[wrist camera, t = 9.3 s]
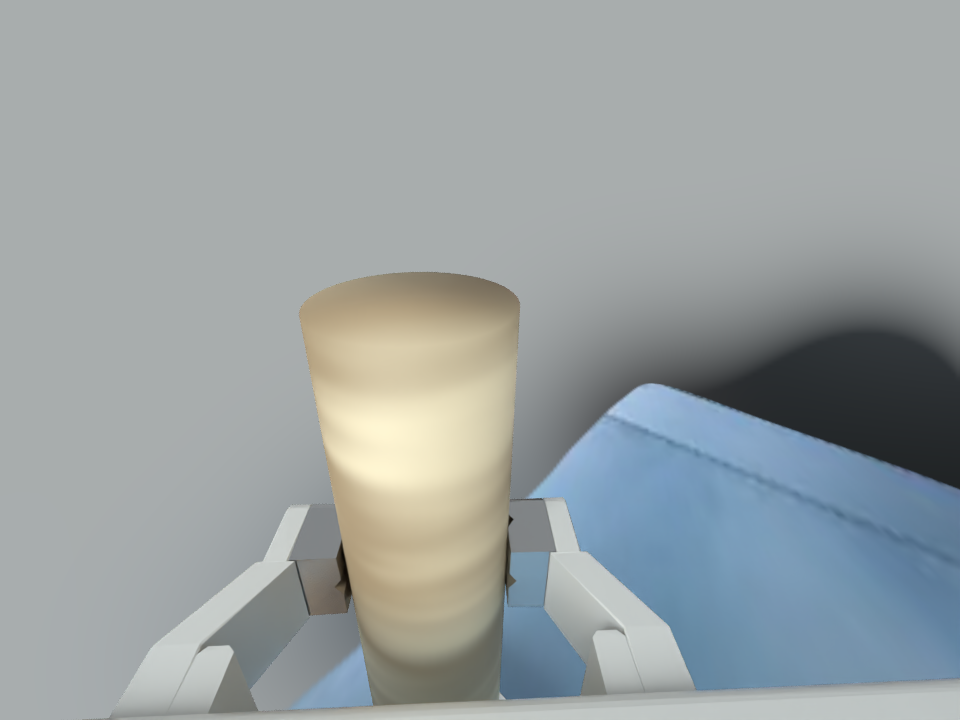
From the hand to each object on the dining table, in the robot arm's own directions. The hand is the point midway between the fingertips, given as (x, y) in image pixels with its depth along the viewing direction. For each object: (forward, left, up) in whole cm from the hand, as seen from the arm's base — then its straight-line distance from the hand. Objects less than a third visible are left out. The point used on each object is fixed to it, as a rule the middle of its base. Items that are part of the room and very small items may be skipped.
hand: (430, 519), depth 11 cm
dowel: (-1, +1, -8) cm, 8 cm away
